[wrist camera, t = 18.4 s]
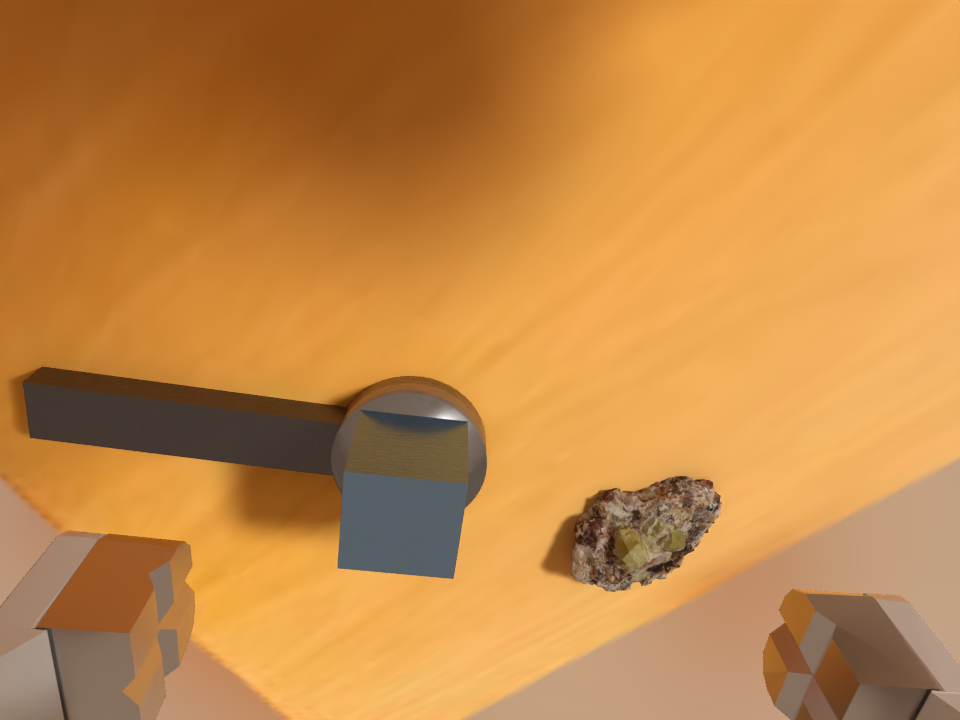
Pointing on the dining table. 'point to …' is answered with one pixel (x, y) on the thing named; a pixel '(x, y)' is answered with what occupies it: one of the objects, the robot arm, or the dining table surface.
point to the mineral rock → (642, 532)
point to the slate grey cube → (404, 495)
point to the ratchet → (233, 420)
